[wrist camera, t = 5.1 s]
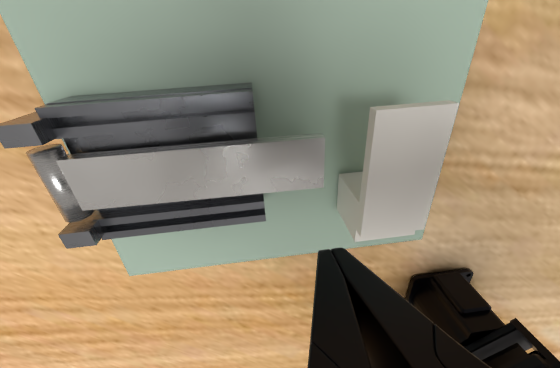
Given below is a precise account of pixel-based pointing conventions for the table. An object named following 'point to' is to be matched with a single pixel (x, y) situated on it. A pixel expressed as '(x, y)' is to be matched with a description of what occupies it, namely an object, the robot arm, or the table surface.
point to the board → (257, 89)
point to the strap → (178, 172)
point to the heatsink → (142, 134)
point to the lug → (397, 170)
